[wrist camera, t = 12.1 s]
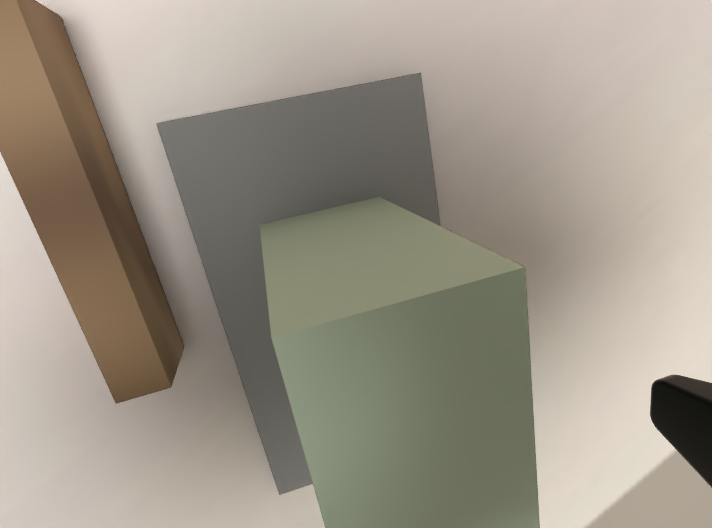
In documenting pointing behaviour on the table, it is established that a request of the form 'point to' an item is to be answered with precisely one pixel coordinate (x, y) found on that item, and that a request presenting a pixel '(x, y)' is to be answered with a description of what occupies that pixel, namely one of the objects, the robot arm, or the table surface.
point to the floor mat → (290, 209)
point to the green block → (404, 368)
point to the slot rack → (81, 203)
